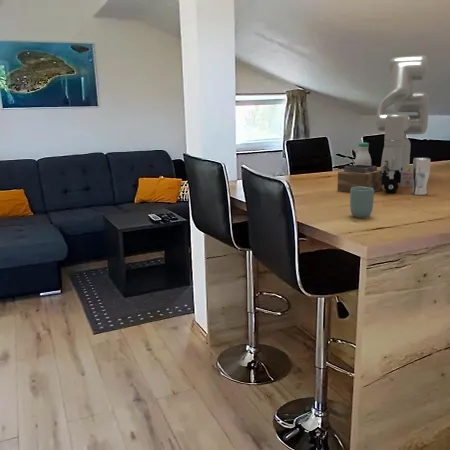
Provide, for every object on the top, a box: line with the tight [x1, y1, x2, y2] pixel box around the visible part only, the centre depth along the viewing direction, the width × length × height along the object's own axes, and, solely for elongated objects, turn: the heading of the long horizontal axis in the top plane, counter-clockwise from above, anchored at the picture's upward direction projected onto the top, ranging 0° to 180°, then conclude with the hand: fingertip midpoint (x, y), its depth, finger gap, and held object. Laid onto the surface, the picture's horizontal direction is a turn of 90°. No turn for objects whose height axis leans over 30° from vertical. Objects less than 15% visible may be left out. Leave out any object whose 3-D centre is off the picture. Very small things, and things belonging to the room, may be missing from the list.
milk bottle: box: [354, 142, 372, 166], centre depth 228 cm, size 8×8×20 cm
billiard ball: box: [383, 179, 399, 194], centre depth 209 cm, size 6×6×6 cm
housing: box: [337, 164, 383, 193], centre depth 215 cm, size 14×14×11 cm
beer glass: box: [411, 157, 431, 196], centre depth 203 cm, size 7×7×15 cm
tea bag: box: [398, 164, 413, 188], centre depth 222 cm, size 4×7×10 cm, turn 70°
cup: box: [349, 187, 375, 219], centre depth 167 cm, size 8×8×10 cm
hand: (391, 184), depth 208 cm, fingers open, 9 cm apart
